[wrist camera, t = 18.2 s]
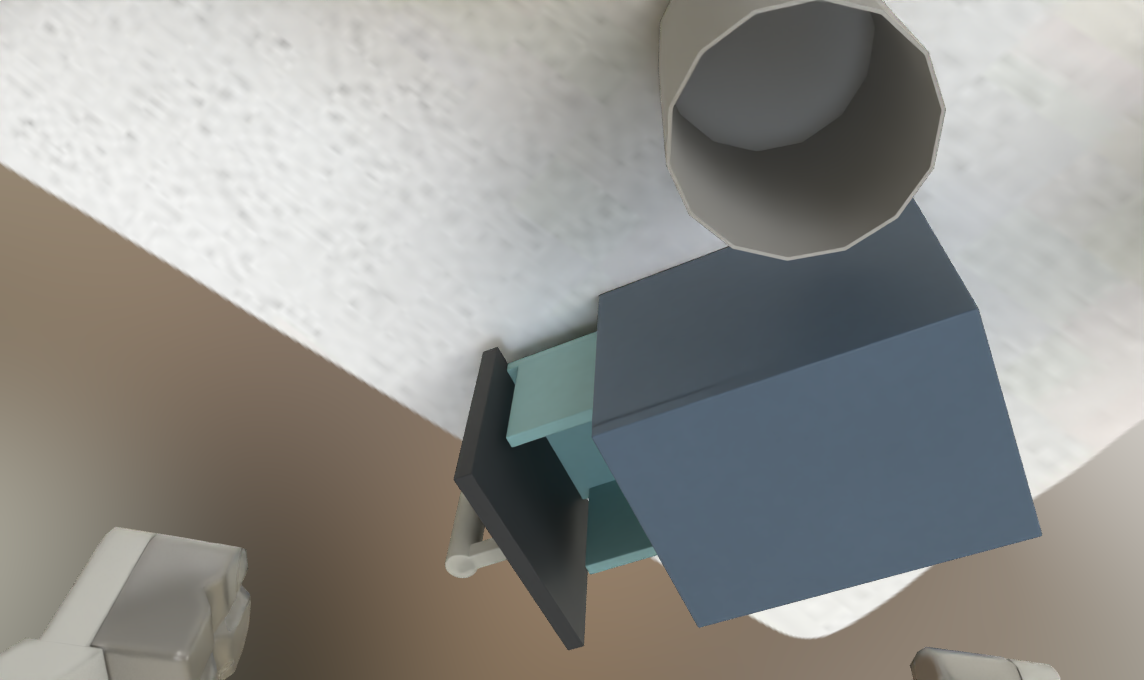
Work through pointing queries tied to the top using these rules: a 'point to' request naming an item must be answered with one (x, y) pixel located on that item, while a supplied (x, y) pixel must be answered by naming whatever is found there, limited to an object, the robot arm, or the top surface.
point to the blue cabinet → (807, 420)
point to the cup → (795, 119)
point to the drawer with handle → (541, 483)
